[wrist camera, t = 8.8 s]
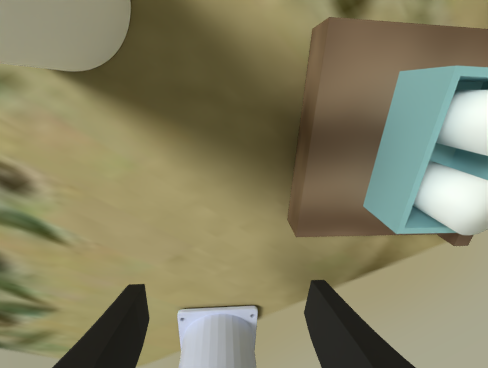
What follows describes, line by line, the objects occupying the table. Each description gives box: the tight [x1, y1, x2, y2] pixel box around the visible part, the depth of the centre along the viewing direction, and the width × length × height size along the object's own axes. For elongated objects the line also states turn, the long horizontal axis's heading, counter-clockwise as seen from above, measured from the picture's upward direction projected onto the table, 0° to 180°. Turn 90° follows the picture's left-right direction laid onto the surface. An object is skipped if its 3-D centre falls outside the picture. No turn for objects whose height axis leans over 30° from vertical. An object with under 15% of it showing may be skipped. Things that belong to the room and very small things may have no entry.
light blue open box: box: [363, 66, 488, 235], centre depth 13 cm, size 9×5×5 cm, turn 178°
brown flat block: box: [287, 17, 488, 246], centre depth 16 cm, size 14×13×4 cm
